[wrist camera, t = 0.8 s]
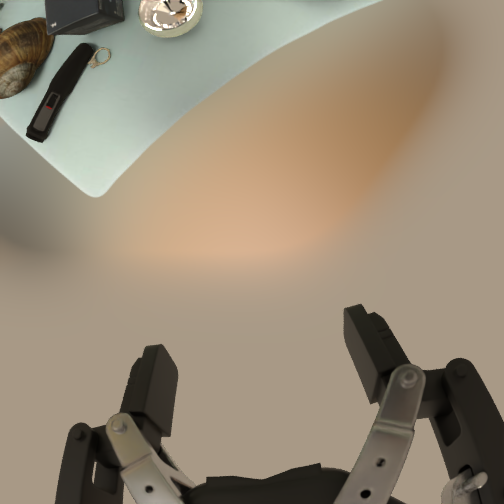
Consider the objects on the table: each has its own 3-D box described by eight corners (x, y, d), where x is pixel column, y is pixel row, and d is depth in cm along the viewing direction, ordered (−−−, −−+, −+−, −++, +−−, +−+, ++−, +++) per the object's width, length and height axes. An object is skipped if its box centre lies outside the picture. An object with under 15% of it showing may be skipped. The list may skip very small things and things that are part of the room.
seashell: (22, 104, 23) (-9, 123, 17) (-9, 71, 17) (-42, 85, 11) (70, 41, 20) (41, 44, 14) (37, 7, 14) (4, 7, 8)
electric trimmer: (102, 48, 23) (100, 51, 21) (45, 141, 28) (40, 151, 26) (81, 36, 20) (77, 38, 18) (25, 132, 25) (19, 142, 24)
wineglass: (146, 34, 23) (121, 29, 14) (165, -5, 19) (150, -28, 11) (189, 45, 25) (185, 43, 17) (209, 6, 22) (215, -13, 13)
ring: (113, 55, 23) (93, 71, 23) (114, 55, 24) (95, 71, 24) (104, 43, 21) (84, 59, 22) (105, 44, 22) (86, 60, 22)
